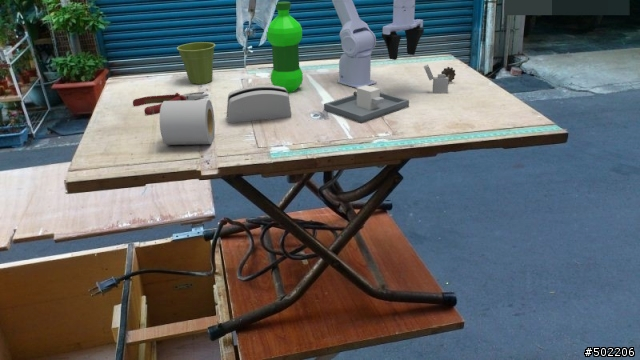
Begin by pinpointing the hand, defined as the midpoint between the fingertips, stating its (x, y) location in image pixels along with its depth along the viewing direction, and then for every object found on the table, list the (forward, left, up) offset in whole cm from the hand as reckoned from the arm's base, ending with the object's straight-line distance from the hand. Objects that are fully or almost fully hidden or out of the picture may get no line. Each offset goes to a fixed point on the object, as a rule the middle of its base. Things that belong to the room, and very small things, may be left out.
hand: (402, 56), depth 151 cm
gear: (+4, +17, -11) cm, 20 cm away
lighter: (+7, +7, -11) cm, 14 cm away
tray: (+3, -17, -10) cm, 20 cm away
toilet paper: (-9, -63, -11) cm, 65 cm away
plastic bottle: (-26, -21, -11) cm, 35 cm away
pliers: (-38, -53, -11) cm, 66 cm away
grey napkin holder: (-11, -42, -11) cm, 45 cm away
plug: (+3, -17, -10) cm, 20 cm away
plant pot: (-53, -35, -11) cm, 64 cm away
